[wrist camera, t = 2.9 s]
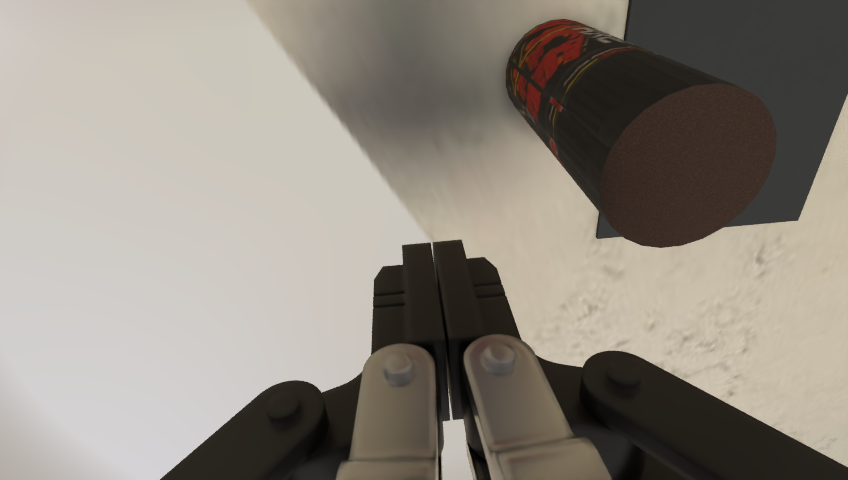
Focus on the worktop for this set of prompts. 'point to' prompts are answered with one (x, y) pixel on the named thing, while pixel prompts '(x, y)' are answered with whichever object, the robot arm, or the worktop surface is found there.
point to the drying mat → (761, 77)
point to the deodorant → (642, 132)
